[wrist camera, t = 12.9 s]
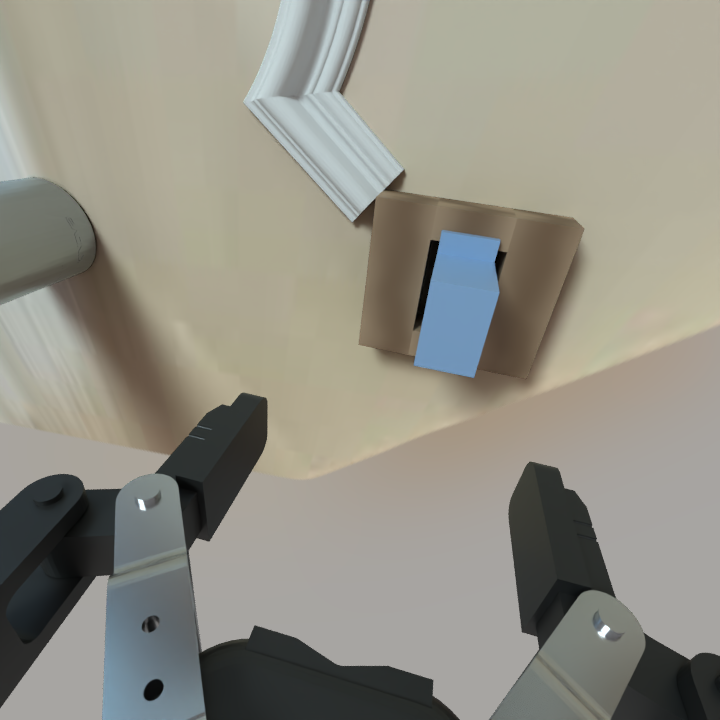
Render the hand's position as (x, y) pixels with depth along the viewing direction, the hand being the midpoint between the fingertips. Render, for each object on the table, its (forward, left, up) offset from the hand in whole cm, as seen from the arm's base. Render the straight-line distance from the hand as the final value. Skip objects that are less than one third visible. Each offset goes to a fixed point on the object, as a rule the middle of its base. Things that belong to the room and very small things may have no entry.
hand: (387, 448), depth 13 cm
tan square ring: (+2, -3, -24) cm, 24 cm away
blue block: (+2, -3, -24) cm, 25 cm away
